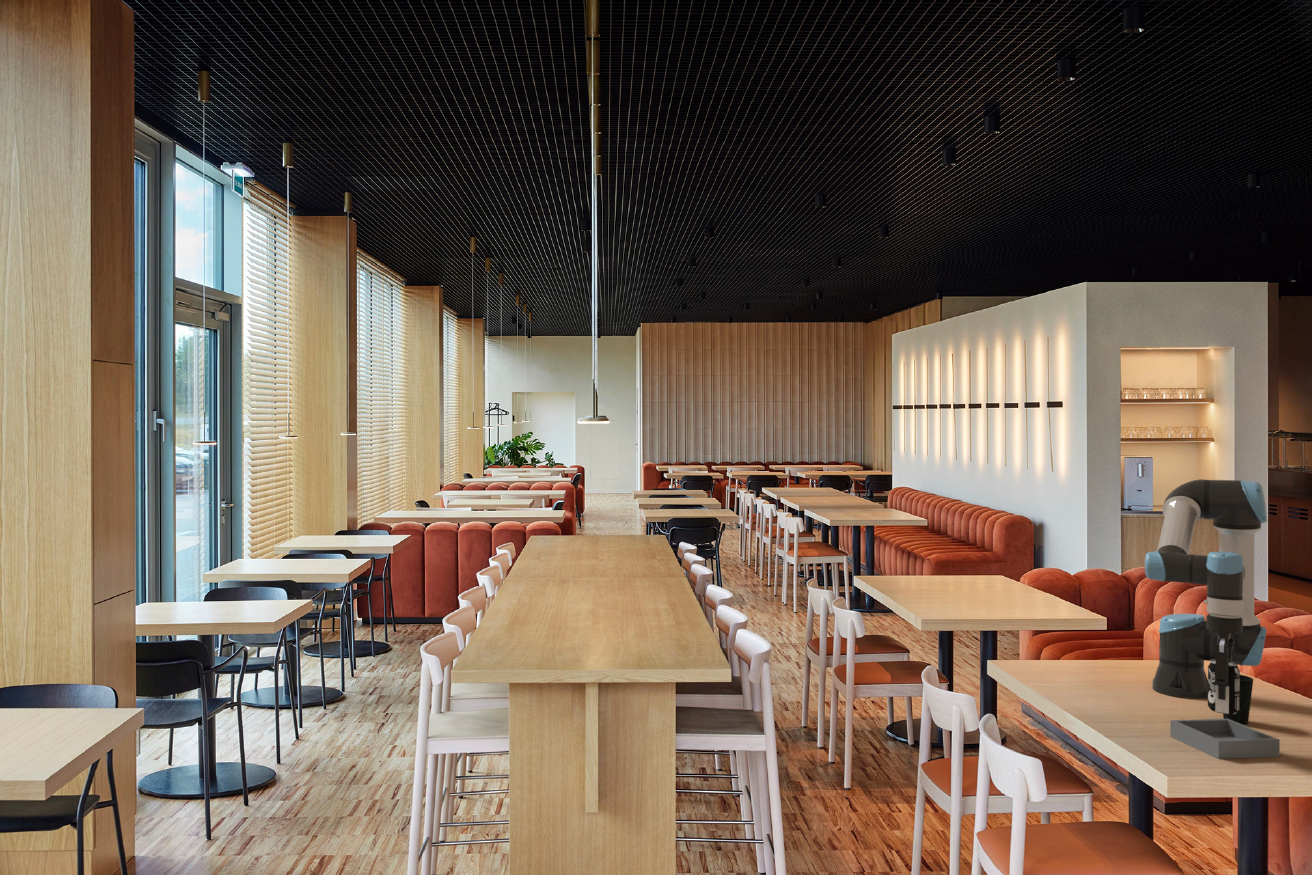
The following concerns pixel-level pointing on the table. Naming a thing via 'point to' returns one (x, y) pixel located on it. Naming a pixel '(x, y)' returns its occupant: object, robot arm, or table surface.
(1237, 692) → the beverage can
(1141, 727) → the table surface
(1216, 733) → the tray
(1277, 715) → the table surface
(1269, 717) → the table surface
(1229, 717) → the cup
